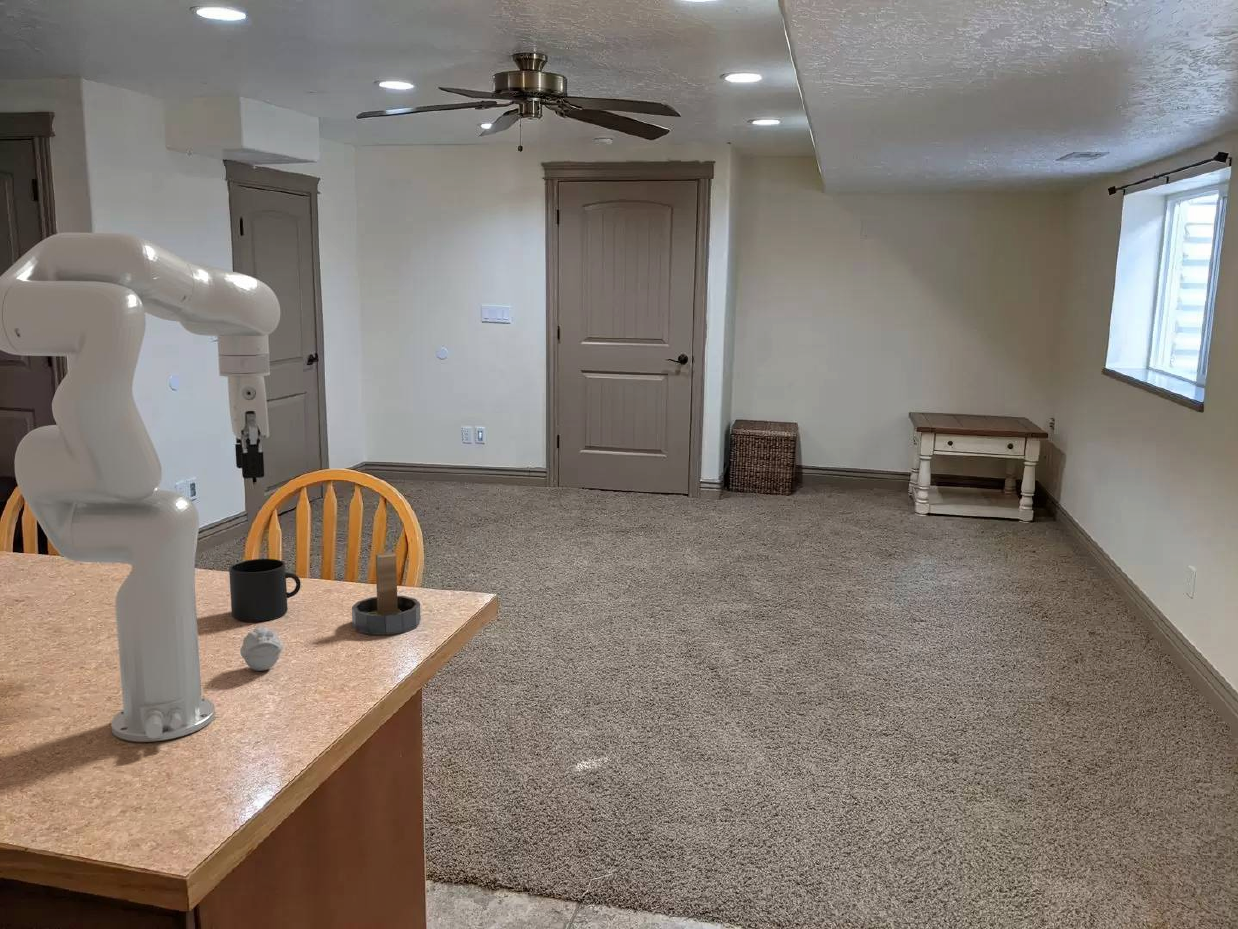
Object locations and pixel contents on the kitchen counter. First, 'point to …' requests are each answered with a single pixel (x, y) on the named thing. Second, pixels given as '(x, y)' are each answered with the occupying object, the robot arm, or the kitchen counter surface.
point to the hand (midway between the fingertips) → (250, 472)
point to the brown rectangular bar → (386, 583)
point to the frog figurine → (261, 648)
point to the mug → (260, 589)
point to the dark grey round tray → (386, 617)
